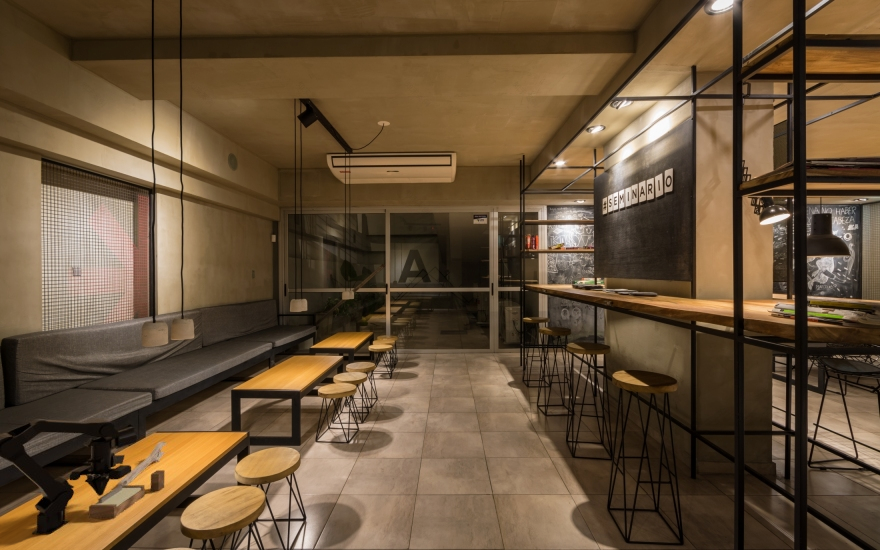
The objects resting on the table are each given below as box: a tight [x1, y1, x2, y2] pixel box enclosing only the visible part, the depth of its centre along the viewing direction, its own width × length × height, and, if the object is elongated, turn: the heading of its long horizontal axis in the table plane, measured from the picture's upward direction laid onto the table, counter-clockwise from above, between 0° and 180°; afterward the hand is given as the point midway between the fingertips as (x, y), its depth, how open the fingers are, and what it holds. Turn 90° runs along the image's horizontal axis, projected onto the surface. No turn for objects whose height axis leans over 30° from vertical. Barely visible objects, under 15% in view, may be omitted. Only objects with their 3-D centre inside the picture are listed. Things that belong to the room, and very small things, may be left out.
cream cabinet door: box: [93, 485, 141, 506], centre depth 141 cm, size 11×8×2 cm
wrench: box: [117, 441, 167, 487], centre depth 168 cm, size 8×2×30 cm
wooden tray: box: [88, 484, 145, 520], centre depth 141 cm, size 14×9×4 cm, turn 1°
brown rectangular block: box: [150, 469, 166, 493], centre depth 153 cm, size 3×3×7 cm
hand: (100, 495), depth 141 cm, fingers closed
